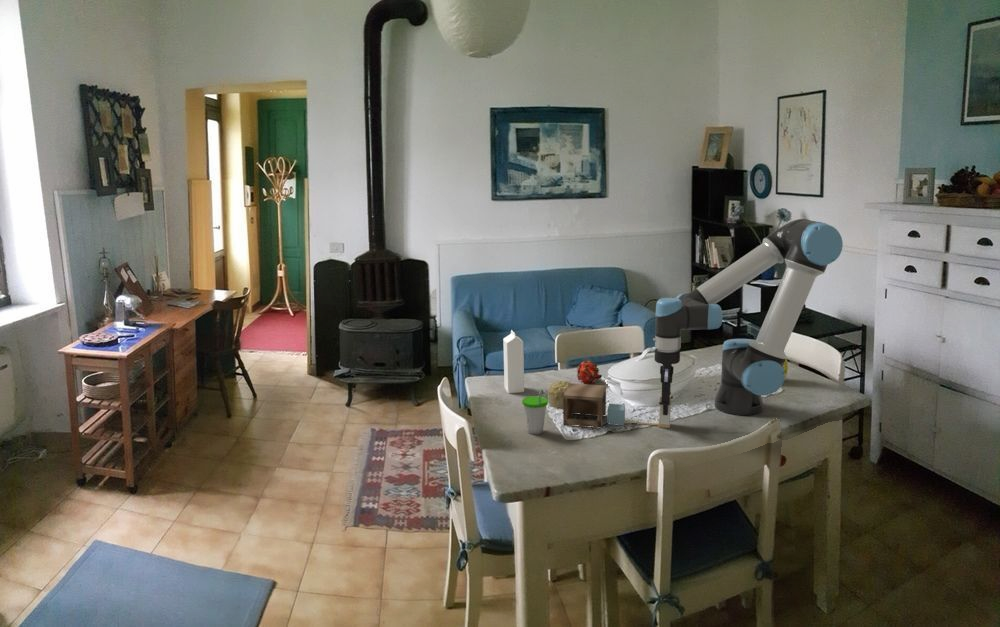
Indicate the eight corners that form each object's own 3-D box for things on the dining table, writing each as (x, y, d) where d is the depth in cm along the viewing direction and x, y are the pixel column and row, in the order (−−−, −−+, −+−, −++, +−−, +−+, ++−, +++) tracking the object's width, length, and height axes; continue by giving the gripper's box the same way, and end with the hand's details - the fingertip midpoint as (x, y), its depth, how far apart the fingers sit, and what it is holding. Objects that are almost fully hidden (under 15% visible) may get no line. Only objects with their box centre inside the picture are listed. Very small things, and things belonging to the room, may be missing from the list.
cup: (522, 427, 219) (521, 381, 215) (547, 426, 218) (547, 381, 215) (522, 437, 211) (521, 390, 208) (548, 436, 211) (548, 390, 207)
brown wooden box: (605, 414, 227) (606, 385, 225) (601, 428, 216) (601, 397, 214) (569, 412, 230) (569, 383, 228) (563, 425, 219) (563, 395, 217)
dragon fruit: (585, 380, 266) (593, 394, 255) (568, 369, 263) (575, 384, 252) (599, 363, 264) (607, 377, 253) (582, 352, 261) (590, 366, 250)
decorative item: (562, 419, 234) (580, 397, 231) (539, 401, 234) (557, 379, 231) (565, 409, 243) (582, 388, 240) (543, 392, 243) (560, 371, 240)
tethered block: (670, 423, 219) (671, 392, 216) (669, 429, 214) (670, 398, 212) (609, 418, 224) (609, 388, 221) (607, 424, 219) (607, 394, 217)
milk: (520, 386, 256) (519, 328, 251) (524, 392, 250) (523, 332, 245) (504, 388, 254) (503, 330, 249) (507, 393, 249) (506, 334, 244)
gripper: (656, 341, 220) (654, 411, 225) (653, 356, 204) (651, 430, 210) (680, 342, 218) (678, 412, 223) (679, 357, 202) (677, 432, 208)
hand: (665, 421), depth 216 cm, fingers closed on tethered block, 3 cm apart
